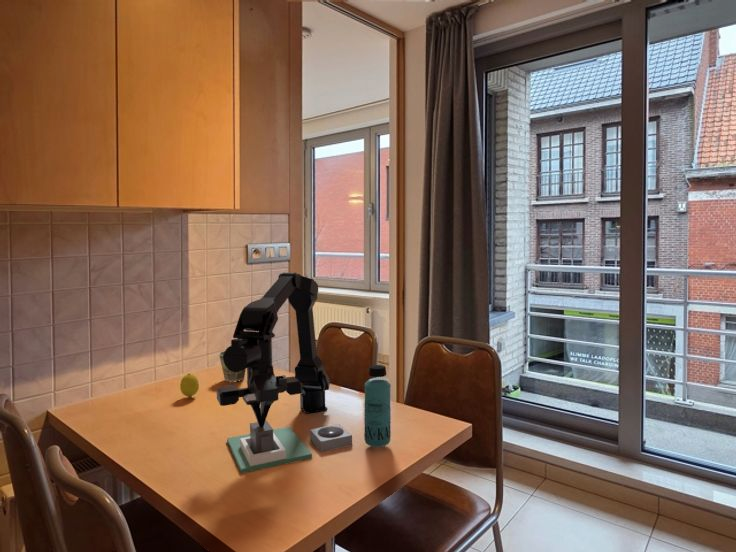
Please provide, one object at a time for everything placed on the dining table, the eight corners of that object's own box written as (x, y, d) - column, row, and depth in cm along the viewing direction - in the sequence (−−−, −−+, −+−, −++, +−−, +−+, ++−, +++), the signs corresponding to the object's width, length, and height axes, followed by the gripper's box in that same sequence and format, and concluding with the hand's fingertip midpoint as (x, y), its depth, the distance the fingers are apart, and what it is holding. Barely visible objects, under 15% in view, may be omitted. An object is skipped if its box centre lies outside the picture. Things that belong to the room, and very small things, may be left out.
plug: (267, 444, 113) (266, 420, 113) (274, 456, 107) (274, 430, 107) (250, 448, 112) (249, 423, 111) (257, 460, 105) (256, 434, 105)
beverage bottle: (363, 442, 116) (362, 362, 115) (389, 441, 117) (389, 361, 116) (365, 454, 110) (364, 370, 108) (393, 452, 111) (392, 369, 109)
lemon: (202, 395, 153) (201, 371, 152) (191, 401, 148) (190, 376, 147) (188, 394, 155) (187, 370, 154) (176, 399, 149) (175, 375, 149)
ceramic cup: (214, 380, 170) (214, 352, 169) (239, 374, 177) (238, 348, 177) (234, 387, 161) (233, 358, 161) (259, 381, 169) (258, 353, 168)
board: (289, 430, 124) (289, 419, 124) (312, 457, 108) (311, 445, 108) (227, 441, 117) (226, 430, 117) (241, 473, 101) (241, 460, 101)
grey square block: (339, 433, 122) (339, 423, 122) (352, 445, 115) (352, 434, 115) (310, 439, 119) (310, 428, 118) (321, 451, 111) (321, 440, 111)
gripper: (223, 374, 97) (225, 448, 98) (309, 363, 105) (311, 431, 106) (215, 362, 107) (217, 429, 108) (294, 352, 115) (296, 415, 116)
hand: (261, 426), depth 109 cm, fingers closed, pressing on plug
